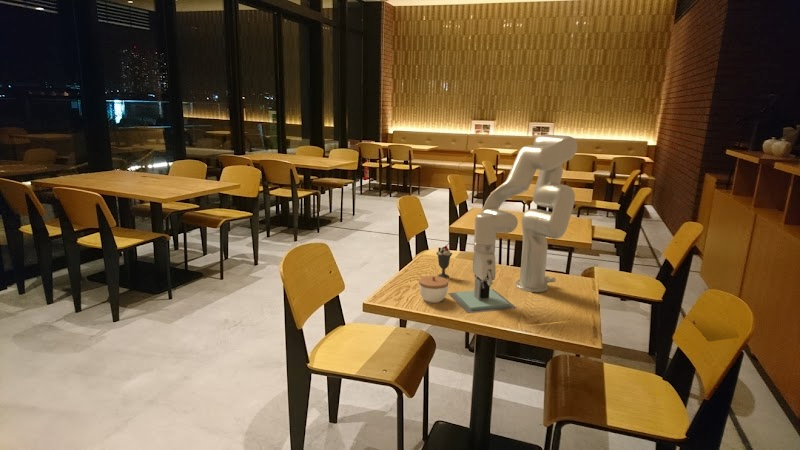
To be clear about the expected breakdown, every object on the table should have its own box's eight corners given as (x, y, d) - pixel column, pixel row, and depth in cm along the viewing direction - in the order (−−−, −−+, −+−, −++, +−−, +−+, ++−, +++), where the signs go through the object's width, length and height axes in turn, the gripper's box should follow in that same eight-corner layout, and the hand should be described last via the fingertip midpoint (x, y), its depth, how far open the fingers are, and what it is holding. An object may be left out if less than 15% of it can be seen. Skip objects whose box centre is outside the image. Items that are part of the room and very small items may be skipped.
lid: (490, 291, 184) (492, 271, 182) (509, 306, 169) (511, 285, 168) (454, 294, 180) (455, 274, 178) (470, 310, 166) (471, 288, 164)
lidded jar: (446, 307, 169) (447, 282, 167) (416, 304, 171) (416, 280, 169) (449, 296, 179) (450, 272, 177) (421, 294, 181) (421, 270, 179)
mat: (493, 290, 186) (493, 289, 186) (517, 309, 168) (517, 308, 168) (447, 294, 181) (447, 293, 181) (467, 314, 163) (467, 313, 163)
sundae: (452, 279, 198) (453, 244, 194) (436, 278, 198) (437, 244, 194) (450, 274, 204) (452, 240, 201) (435, 273, 204) (436, 240, 201)
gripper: (504, 253, 163) (501, 303, 167) (484, 240, 179) (481, 286, 183) (484, 254, 161) (481, 305, 165) (465, 242, 177) (463, 288, 181)
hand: (481, 295), depth 174 cm, fingers closed on lid, 4 cm apart
